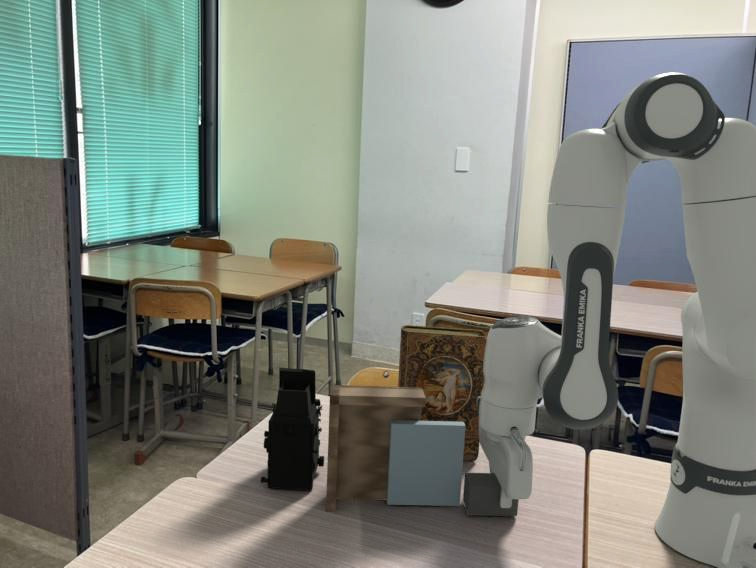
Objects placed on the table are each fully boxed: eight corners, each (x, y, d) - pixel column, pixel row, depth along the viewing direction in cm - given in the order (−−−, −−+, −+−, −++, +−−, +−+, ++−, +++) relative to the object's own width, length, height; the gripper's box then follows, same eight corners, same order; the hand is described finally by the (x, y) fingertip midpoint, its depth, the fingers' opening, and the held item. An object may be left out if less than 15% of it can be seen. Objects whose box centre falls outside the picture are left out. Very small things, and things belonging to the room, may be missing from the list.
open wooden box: (415, 497, 102) (421, 387, 99) (418, 512, 97) (425, 397, 94) (327, 495, 101) (330, 385, 98) (325, 511, 97) (329, 395, 93)
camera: (327, 458, 115) (330, 357, 112) (317, 494, 102) (321, 380, 98) (275, 455, 115) (277, 354, 112) (259, 491, 102) (261, 377, 99)
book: (393, 455, 118) (400, 331, 114) (395, 443, 123) (402, 324, 119) (478, 462, 116) (487, 337, 112) (476, 450, 122) (485, 330, 118)
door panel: (457, 500, 101) (463, 421, 99) (459, 505, 99) (465, 425, 97) (386, 499, 100) (390, 419, 98) (387, 504, 99) (391, 423, 96)
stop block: (509, 501, 101) (512, 473, 100) (517, 515, 97) (519, 487, 96) (462, 500, 101) (464, 472, 100) (468, 514, 96) (470, 486, 96)
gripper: (547, 444, 86) (538, 532, 89) (509, 395, 106) (503, 468, 109) (504, 443, 86) (496, 532, 88) (474, 394, 106) (469, 467, 108)
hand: (500, 496), depth 99 cm, fingers closed on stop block, 4 cm apart
